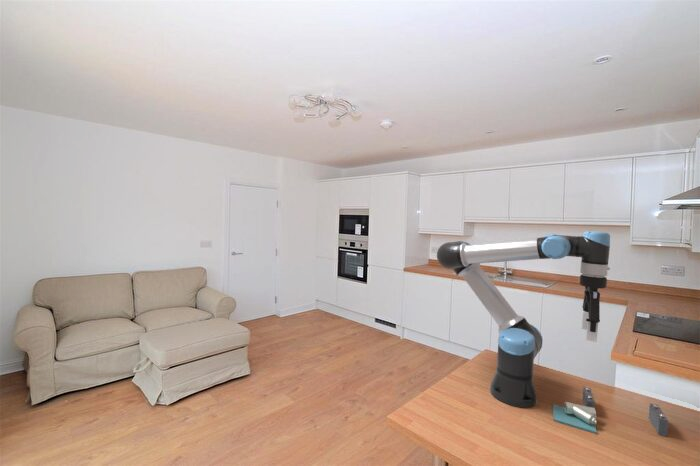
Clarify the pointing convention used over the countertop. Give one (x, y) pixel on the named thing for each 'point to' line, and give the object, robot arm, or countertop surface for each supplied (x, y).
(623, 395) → the countertop surface
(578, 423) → the mat
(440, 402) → the countertop surface
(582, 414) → the pipe fitting
